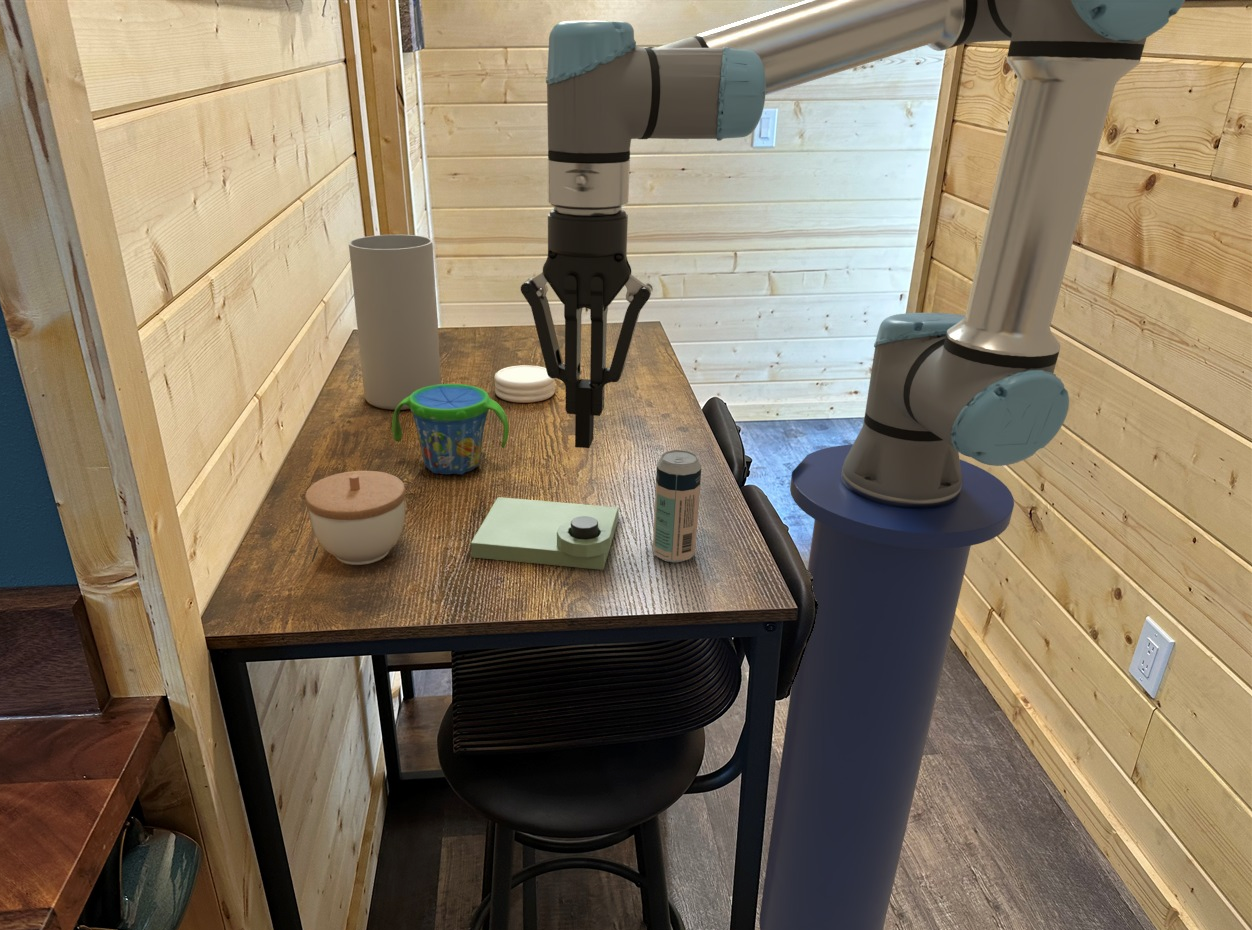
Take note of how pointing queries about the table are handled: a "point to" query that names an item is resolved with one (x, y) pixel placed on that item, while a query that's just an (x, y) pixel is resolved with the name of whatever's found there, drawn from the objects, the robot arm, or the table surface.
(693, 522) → the beer can
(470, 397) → the snack cup
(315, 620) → the table surface
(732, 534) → the table surface
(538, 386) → the coaster
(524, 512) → the scale
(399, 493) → the trinket box
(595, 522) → the button
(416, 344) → the cylinder vase
